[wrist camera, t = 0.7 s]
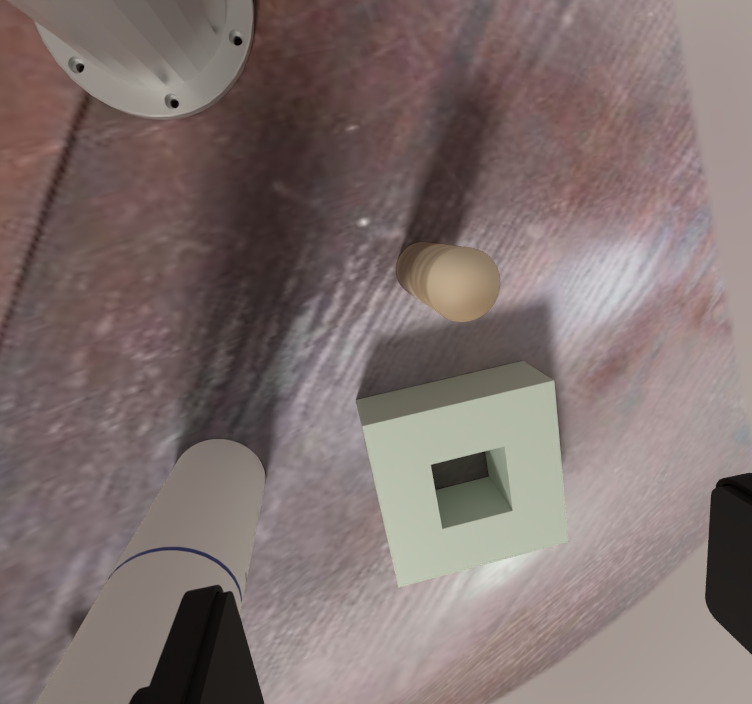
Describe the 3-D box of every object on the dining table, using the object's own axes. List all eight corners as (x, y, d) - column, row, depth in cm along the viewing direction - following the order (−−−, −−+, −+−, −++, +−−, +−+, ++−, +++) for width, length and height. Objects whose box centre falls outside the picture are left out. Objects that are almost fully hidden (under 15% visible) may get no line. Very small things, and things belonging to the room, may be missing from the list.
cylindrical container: (251, 429, 36) (124, 843, 12) (275, 506, 38) (207, 994, 14) (160, 451, 35) (-172, 930, 11) (188, 527, 37) (-40, 1074, 13)
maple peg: (391, 248, 33) (422, 255, 24) (443, 236, 34) (495, 240, 24) (401, 300, 34) (434, 328, 25) (451, 289, 35) (504, 313, 25)
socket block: (355, 399, 36) (362, 426, 31) (523, 360, 37) (554, 380, 32) (388, 544, 40) (398, 587, 35) (538, 505, 41) (568, 542, 36)
